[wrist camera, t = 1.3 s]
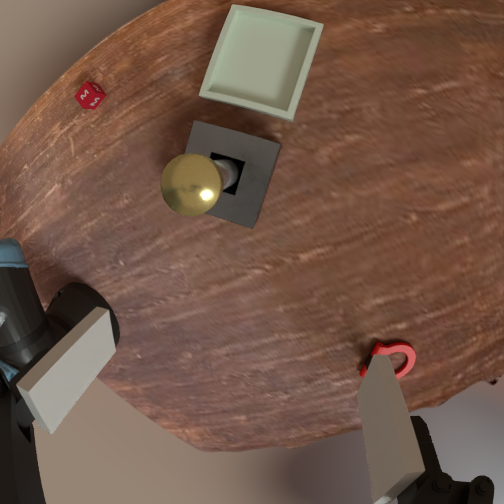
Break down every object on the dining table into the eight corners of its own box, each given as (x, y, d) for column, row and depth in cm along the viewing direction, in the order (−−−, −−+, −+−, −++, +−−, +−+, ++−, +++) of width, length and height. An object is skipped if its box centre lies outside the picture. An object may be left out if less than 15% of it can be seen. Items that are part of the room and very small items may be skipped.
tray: (204, 98, 34) (198, 95, 32) (236, 11, 29) (232, 4, 27) (292, 122, 34) (292, 120, 31) (321, 31, 29) (323, 24, 27)
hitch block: (186, 196, 39) (172, 202, 34) (206, 123, 35) (194, 120, 30) (257, 219, 38) (252, 228, 34) (282, 145, 35) (280, 144, 30)
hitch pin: (209, 183, 38) (154, 205, 23) (219, 147, 36) (168, 147, 21) (244, 193, 38) (210, 224, 22) (255, 158, 36) (227, 163, 21)
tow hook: (422, 344, 42) (377, 336, 42) (451, 396, 30) (401, 395, 30) (399, 379, 45) (355, 374, 45) (419, 433, 33) (369, 433, 33)
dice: (97, 83, 35) (86, 81, 32) (106, 95, 35) (95, 92, 32) (85, 98, 36) (74, 96, 33) (94, 109, 36) (82, 108, 33)
